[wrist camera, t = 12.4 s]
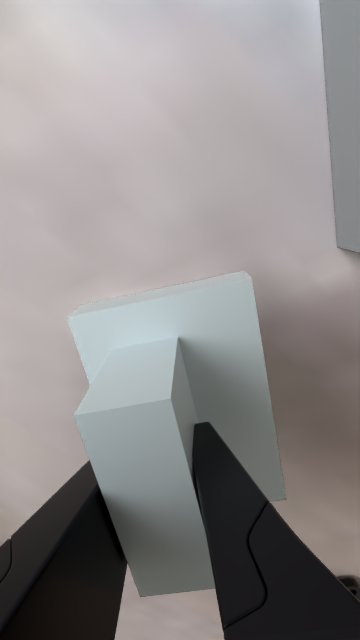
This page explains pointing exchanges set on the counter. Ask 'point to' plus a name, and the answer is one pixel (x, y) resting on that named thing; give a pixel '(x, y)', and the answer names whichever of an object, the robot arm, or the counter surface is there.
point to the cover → (172, 415)
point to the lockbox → (343, 113)
